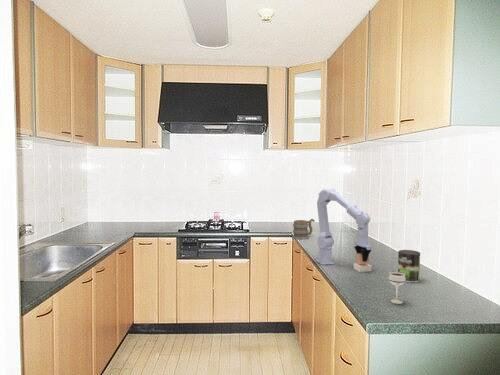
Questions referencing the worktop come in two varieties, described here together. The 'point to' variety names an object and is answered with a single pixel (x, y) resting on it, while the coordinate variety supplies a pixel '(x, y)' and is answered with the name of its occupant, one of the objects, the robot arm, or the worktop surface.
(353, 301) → the worktop surface
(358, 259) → the terracotta cube
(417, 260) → the coffee can
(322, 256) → the robot arm
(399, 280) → the wineglass
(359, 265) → the cream plinth
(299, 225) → the tankard
